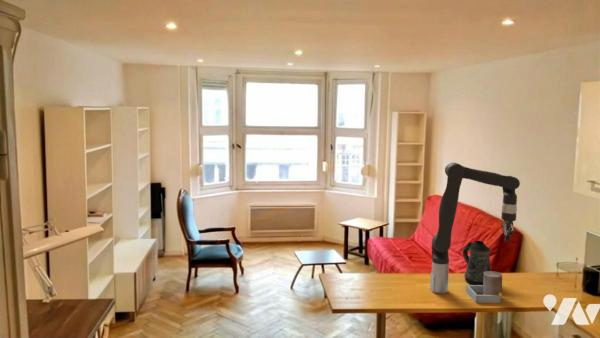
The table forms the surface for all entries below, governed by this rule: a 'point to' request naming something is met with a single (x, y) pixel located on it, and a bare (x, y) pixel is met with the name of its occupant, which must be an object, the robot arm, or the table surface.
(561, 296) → the table surface
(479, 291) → the tray
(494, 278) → the pillar candle
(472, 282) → the beer stein
